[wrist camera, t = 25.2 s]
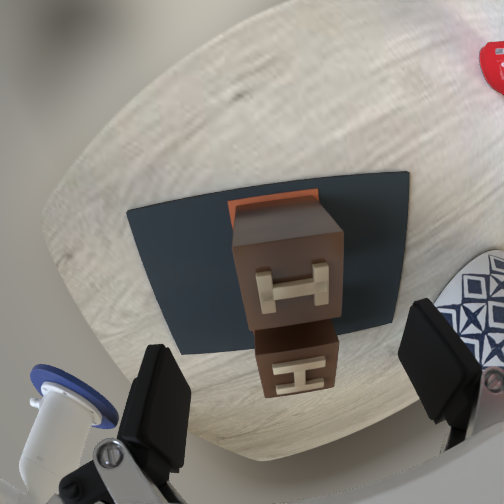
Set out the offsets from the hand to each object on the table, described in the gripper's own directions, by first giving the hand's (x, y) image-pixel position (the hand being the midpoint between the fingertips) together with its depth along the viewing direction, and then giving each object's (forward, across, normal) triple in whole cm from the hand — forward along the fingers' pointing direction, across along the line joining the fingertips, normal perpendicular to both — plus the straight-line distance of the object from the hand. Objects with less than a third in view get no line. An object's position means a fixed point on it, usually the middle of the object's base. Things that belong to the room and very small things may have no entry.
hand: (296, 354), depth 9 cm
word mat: (+10, -1, +3) cm, 11 cm away
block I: (+10, -1, 0) cm, 10 cm away
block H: (+10, -1, +7) cm, 12 cm away
